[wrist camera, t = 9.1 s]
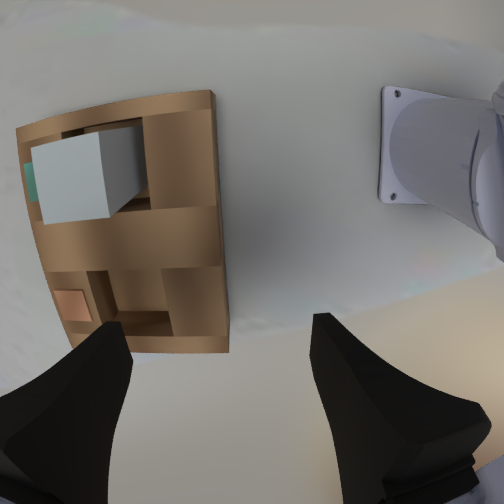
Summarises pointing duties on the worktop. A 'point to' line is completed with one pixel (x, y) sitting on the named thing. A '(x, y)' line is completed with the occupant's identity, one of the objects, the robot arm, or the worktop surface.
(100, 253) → the port block
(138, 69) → the worktop surface
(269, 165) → the worktop surface
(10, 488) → the robot arm
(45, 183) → the matte gray box
